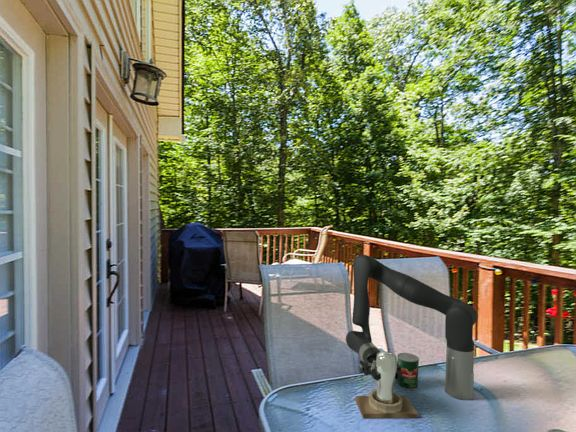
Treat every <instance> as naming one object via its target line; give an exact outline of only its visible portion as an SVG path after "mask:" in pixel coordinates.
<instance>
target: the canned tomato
mask: <svg viewBox="0 0 576 432" xmlns="http://www.w3.org/2000/svg"><path fill="white" fill-rule="evenodd" d="M396 356H397V362H398V364H399V365H400V366H401V379H400V380H397V379H396V381H395V384H396V386H398V387H399V388H401V389H403V390H405V391H414V390H417V389H418V388H419V366H420V364H419V363H420V361H419V360H420V358H419V356H418V355H416V354H413V353H409V352H400V353H398V354H397V355H396Z"/></svg>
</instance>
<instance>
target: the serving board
mask: <svg viewBox="0 0 576 432" xmlns="http://www.w3.org/2000/svg"><path fill="white" fill-rule="evenodd" d="M376 393H377V388H375V389H373V390H371V391H370V392H369V394H368V395H355V396H354V401H355V403H356V406H357V407H358V409H359V412H360V414H361V417H362V419H418V418H419V413H418V411H417V410H416V409H415V407H414V406H413V404H412V403H411V402H410V400H409V398H407V396H406V395H400V394H399V393H396V391H393V394H394V402H393V403H392V404H383V403H380V402H379V401H377V400H376Z"/></svg>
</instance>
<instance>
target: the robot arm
mask: <svg viewBox="0 0 576 432" xmlns="http://www.w3.org/2000/svg"><path fill="white" fill-rule="evenodd" d="M352 274H353V305H352V306H353V309H352V318H351V321H352V322H351V323H352V324H353V325H354V326H358V327H361V330H362V331H358V330H351V331H348V333H347V334H346V337H345V342H346V345H347V347H348V349H350V350H352V351H353V352H355V353H356V354H358V355H359V357H360V360H359V365H358V367H359V370H360V371H361V373H362V374H363V375H364V376H368V375H369V376H370V377H372V379H373V380H375V381H376V382H377V381H379V374H378V373H377V372H376V358H377V353H379V352H381V350H380V349H379V348H378V347H377V346H376V345H375V344H374V343H373V339H372V335H371V329H370V313H371V303H370V295H369V279H372V280H374V281H377V282H379V283H381V284H383V285H384V286H385V287H387V288H388V289H389V290H391V291H392V292H393V293H394V294H396V295H397V296H399V297H401V298H403V299H405V300H406V301H407V302H410V303H413V304H415V305H417V306H421V307H425V308H429V309H431V310H432V309H433V310H435V311H436V312H439V313H441V314H443V315H444V316H445V321H444V322H445V324H444V327H445V328H444V330H445V331H444V336H445V340H446V351H445V352H446V353H445V355H446V356H445V381H444V391H445V393H446V394H447V395H449V396H450V397H453V398H454V399H457V400H458V399H459V400H474V381H475V380H474V378H475V376H474V375H475V372H474V363H475V341H474V340H473V339H474V338H473V337H474V336H473V333H474V332H473V331H474V328H473V326H474V325H475V324H476V322H477V320H478V318H479V315H478V312H477V310H476V309H475V307H474V306H473V305H471V304H470V303H467V302H465V301H463V300H460V299H457V298H454V297H452V296H451V295H447V294H445V293H442V292H441V291H439V290H437V289H435V288H434V287H432V286H430V285H428V284H426V283H424V282H422V281H420V280H418V279H416V278H414V277H412V276H410V275H408V274H406V273H403V272H402V271H401V272H400V271H398V270H395V269H393V268H390V267H388V266H386V265H385V264H383V263H382V262H380V261H379V260H377V259H375V258H374V257H372V256H371V255H367V254H358V255H357V256H356V257H355V258H354V260H353V263H352ZM400 379H401V366H400V365H399V364H398V362H397V374H396V381H397V380H400Z"/></svg>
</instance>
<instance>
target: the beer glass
mask: <svg viewBox="0 0 576 432" xmlns="http://www.w3.org/2000/svg"><path fill="white" fill-rule="evenodd" d="M397 358H398V356H397V355H396V354H394V353H393V352H388V351H380V352H379V353H377V358H376V372H377V373H378V374H379V381H376V384H377V385H376V386H377V387H376V389H377V393H376V400H377V401H379V402H380V403H383V404H392V403H393V402H394V394H393V392H394V390H395V389H394V388H395V384H396V381H397V379H396V374H397Z"/></svg>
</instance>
